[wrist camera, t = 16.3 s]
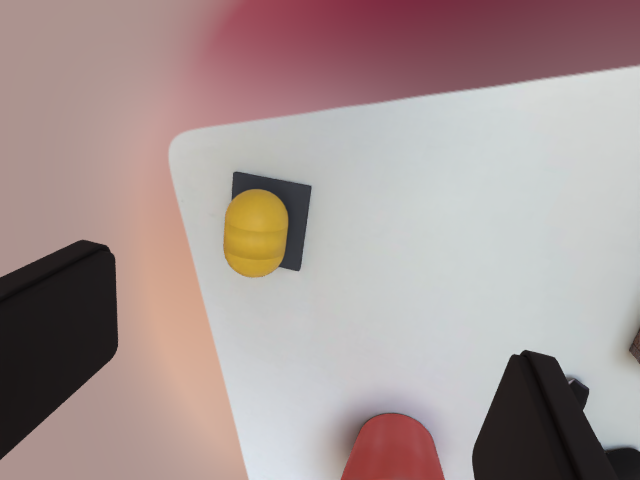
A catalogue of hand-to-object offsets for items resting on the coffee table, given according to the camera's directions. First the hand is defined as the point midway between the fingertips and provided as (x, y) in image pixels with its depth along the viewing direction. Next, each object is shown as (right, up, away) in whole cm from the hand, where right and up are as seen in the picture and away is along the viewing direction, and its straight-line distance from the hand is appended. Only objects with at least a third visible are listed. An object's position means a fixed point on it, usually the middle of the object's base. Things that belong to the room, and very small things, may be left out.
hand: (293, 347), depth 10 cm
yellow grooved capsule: (-4, +4, +28) cm, 28 cm away
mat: (-4, +4, +28) cm, 29 cm away
